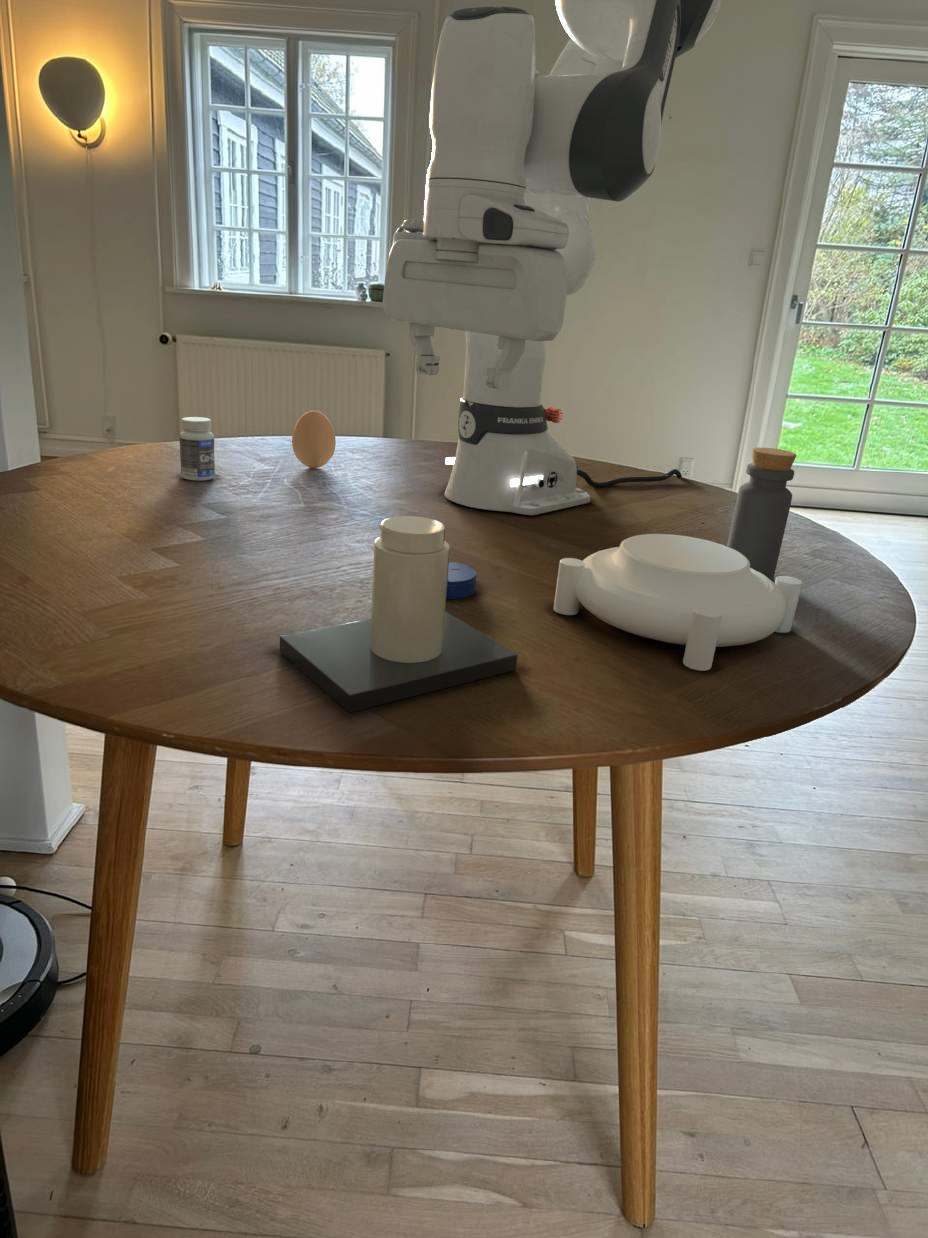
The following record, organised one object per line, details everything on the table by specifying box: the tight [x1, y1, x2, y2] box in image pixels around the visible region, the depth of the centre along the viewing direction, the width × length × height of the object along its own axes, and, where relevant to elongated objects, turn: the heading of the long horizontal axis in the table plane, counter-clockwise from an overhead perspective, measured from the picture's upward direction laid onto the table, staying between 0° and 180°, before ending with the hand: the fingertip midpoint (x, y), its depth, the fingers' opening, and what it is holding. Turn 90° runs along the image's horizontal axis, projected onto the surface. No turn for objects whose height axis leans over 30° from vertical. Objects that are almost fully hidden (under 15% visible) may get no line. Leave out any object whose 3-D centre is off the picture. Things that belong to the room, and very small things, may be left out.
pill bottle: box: [179, 416, 216, 482], centre depth 122 cm, size 5×5×8 cm
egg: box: [291, 410, 336, 469], centre depth 134 cm, size 7×7×9 cm
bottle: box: [726, 447, 797, 582], centre depth 97 cm, size 6×6×15 cm
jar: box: [370, 515, 451, 663], centre depth 69 cm, size 6×6×11 cm
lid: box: [446, 561, 477, 600], centre depth 89 cm, size 6×6×2 cm
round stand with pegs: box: [553, 533, 803, 672], centre depth 84 cm, size 24×24×7 cm
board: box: [279, 610, 518, 714], centre depth 71 cm, size 16×12×2 cm
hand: (461, 380), depth 81 cm, fingers open, 8 cm apart
